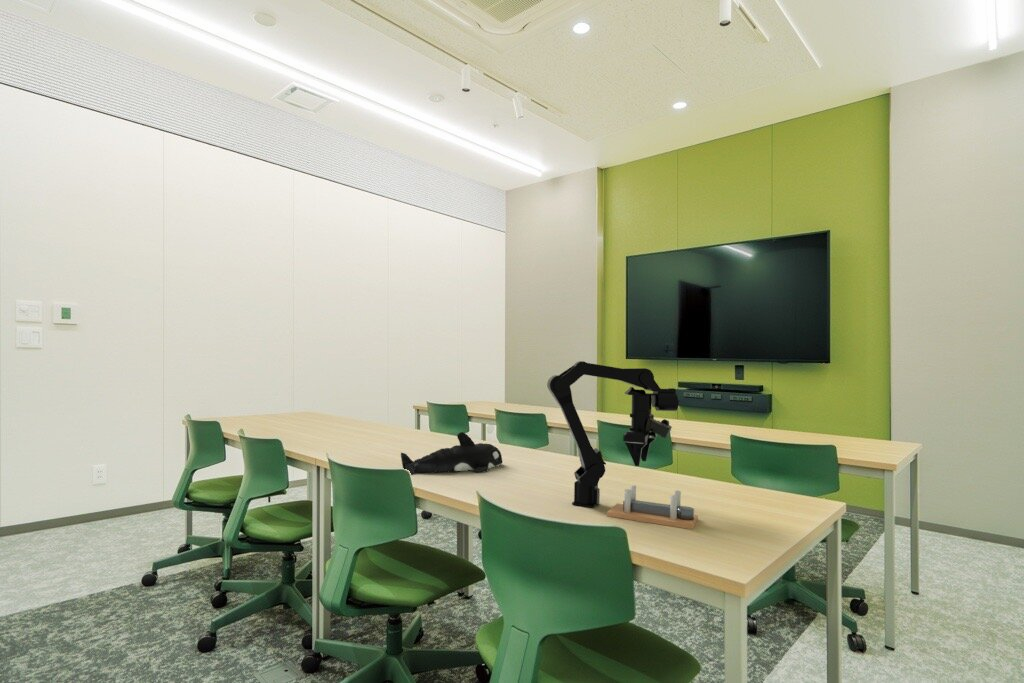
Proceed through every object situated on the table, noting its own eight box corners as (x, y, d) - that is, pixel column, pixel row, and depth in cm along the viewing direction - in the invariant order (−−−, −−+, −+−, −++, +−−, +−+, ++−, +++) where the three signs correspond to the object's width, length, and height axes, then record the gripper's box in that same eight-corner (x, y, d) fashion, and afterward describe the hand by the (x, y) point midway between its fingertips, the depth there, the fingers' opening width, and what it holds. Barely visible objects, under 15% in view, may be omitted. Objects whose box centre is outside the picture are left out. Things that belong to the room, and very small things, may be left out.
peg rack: (607, 516, 142) (607, 489, 143) (617, 507, 151) (617, 482, 152) (692, 529, 132) (692, 500, 133) (697, 519, 141) (697, 492, 142)
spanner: (622, 511, 143) (622, 501, 143) (626, 507, 147) (626, 498, 147) (692, 521, 135) (692, 511, 135) (694, 517, 139) (695, 507, 139)
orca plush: (512, 472, 199) (513, 434, 200) (403, 476, 187) (404, 435, 188) (497, 462, 219) (498, 427, 220) (397, 465, 207) (399, 428, 208)
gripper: (663, 414, 145) (662, 471, 144) (674, 410, 161) (674, 461, 161) (623, 411, 150) (622, 467, 149) (638, 408, 166) (637, 457, 165)
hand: (640, 463), depth 156 cm, fingers open, 9 cm apart
